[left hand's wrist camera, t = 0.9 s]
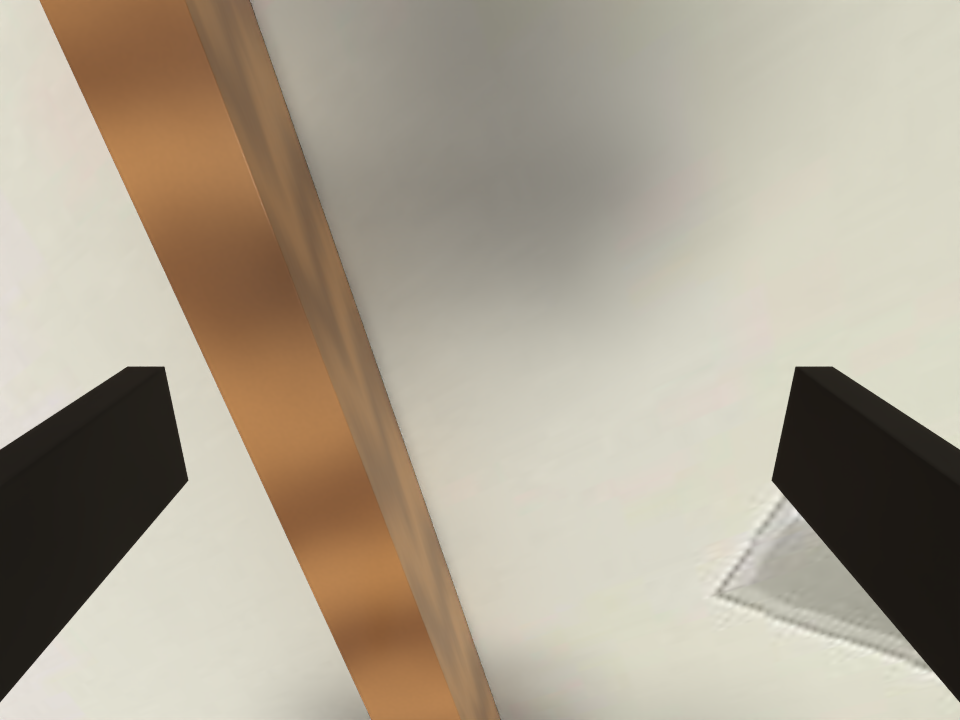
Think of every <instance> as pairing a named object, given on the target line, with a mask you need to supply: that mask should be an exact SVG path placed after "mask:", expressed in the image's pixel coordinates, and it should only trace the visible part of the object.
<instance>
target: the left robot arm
mask: <svg viewBox="0 0 960 720" xmlns="http://www.w3.org/2000/svg"><path fill="white" fill-rule="evenodd" d="M187 481H188V476H187V472H186V467H185V462H184V457H183V453H182V448H181V443H180V438H179V434H178V429H177V424H176V419H175V415H174V410H173V405H172V400H171V396H170V391H169V386H168V381H167V377H166V372H165V367H126V368H125V369H123V370H122V371H120V372H119V373H117V374H116V375H114V376H112V377H111V378H109V379H108V380H106V381H105V382H103V383H102V384H100V385H99V386H97V387H96V388H94V389H93V390H91V391H89V392H88V393H86V394H85V395H83V396H82V397H80V398H79V399H77V400H76V401H74V402H73V403H71V404H70V405H68V406H66V407H65V408H63V409H62V410H60V411H59V412H57V413H56V414H54V415H53V416H51V417H50V418H48V419H47V420H45V421H43V422H42V423H40V424H39V425H37V426H36V427H34V428H33V429H31V430H30V431H28V432H27V433H25V434H24V435H22V436H21V437H19V438H17V439H16V440H14V441H13V442H11V443H10V444H8V445H7V446H5V447H4V448H2V449H1V450H0V702H1V701H2V700H3V698H4V697H5V696H6V695H7V694H8V692H9V691H10V690H11V689H12V688H13V687H14V685H15V684H16V683H17V682H18V681H19V680H20V678H21V677H22V676H23V675H24V674H25V672H26V671H27V670H28V669H29V668H30V667H31V665H32V664H33V663H34V662H35V661H36V659H37V658H38V657H39V656H40V655H41V654H42V652H43V651H44V650H45V649H46V648H47V647H48V645H49V644H50V643H51V642H52V641H53V639H54V638H55V637H56V636H57V635H58V634H59V632H60V631H61V630H62V629H63V628H64V626H65V625H66V624H67V623H68V622H69V621H70V619H71V618H72V617H73V616H74V615H75V614H76V612H77V611H78V610H79V609H80V608H81V606H82V605H83V604H84V603H85V602H86V601H87V599H88V598H89V597H90V596H91V595H92V593H93V592H94V591H95V590H96V589H97V588H98V586H99V585H100V584H101V583H102V582H103V581H104V579H105V578H106V577H107V576H108V575H109V573H110V572H111V571H112V570H113V569H114V568H115V566H116V565H117V564H118V563H119V562H120V560H121V559H122V558H123V557H124V556H125V555H126V553H127V552H128V551H129V550H130V549H131V548H132V546H133V545H134V544H135V543H136V542H137V540H138V539H139V538H140V537H141V536H142V535H143V533H144V532H145V531H146V530H147V529H148V527H149V526H150V525H151V524H152V523H153V522H154V520H155V519H156V518H157V517H158V516H159V514H160V513H161V512H162V511H163V510H164V509H165V507H166V506H167V505H168V504H169V503H170V502H171V500H172V499H173V498H174V497H175V496H176V494H177V493H178V492H179V491H180V490H181V489H182V487H183V486H184V485H185V484H186V483H187ZM772 481H773V483H774V484H775V485H776V486H777V487H778V489H779V490H780V491H781V492H782V493H783V494H784V496H785V497H786V498H787V499H788V500H789V502H790V503H791V504H792V505H793V506H794V507H795V509H796V510H797V511H798V512H799V513H800V514H801V516H802V517H803V518H804V519H805V520H806V522H807V523H808V524H809V525H810V526H811V527H812V529H813V530H814V531H815V532H816V533H817V535H818V536H819V537H820V538H821V539H822V540H823V542H824V543H825V544H826V545H827V546H828V548H829V549H830V550H831V551H832V552H833V553H834V555H835V556H836V557H837V558H838V559H839V560H840V562H841V563H842V564H843V565H844V566H845V568H846V569H847V570H848V571H849V572H850V573H851V575H852V576H853V577H854V578H855V579H856V581H857V582H858V583H859V584H860V585H861V586H862V588H863V589H864V590H865V591H866V592H867V593H868V595H869V596H870V597H871V598H872V599H873V601H874V602H875V603H876V604H877V605H878V606H879V608H880V609H881V610H882V611H883V612H884V614H885V615H886V616H887V617H888V618H889V619H890V621H891V622H892V623H893V624H894V625H895V626H896V628H897V629H898V630H899V631H900V632H901V634H902V635H903V636H904V637H905V638H906V639H907V641H908V642H909V643H910V644H911V645H912V647H913V648H914V649H915V650H916V651H917V652H918V654H919V655H920V656H921V657H922V658H923V659H924V661H925V662H926V663H927V664H928V665H929V667H930V668H931V669H932V670H933V671H934V672H935V674H936V675H937V676H938V677H939V678H940V680H941V681H942V682H943V683H944V684H945V685H946V687H947V688H948V689H949V690H950V691H951V692H952V694H953V695H954V696H955V697H956V698H957V700H958V701H959V702H960V450H959V449H958V448H956V447H955V446H953V445H952V444H950V443H949V442H947V441H946V440H944V439H943V438H941V437H939V436H938V435H936V434H935V433H933V432H932V431H930V430H929V429H927V428H926V427H924V426H923V425H921V424H920V423H918V422H917V421H915V420H913V419H912V418H910V417H909V416H907V415H906V414H904V413H903V412H901V411H900V410H898V409H897V408H895V407H894V406H892V405H890V404H889V403H887V402H886V401H884V400H883V399H881V398H880V397H878V396H877V395H875V394H874V393H872V392H871V391H869V390H867V389H866V388H864V387H863V386H861V385H860V384H858V383H857V382H855V381H854V380H852V379H851V378H849V377H848V376H846V375H844V374H843V373H841V372H840V371H838V370H837V369H835V368H834V367H795V372H794V377H793V381H792V386H791V391H790V396H789V400H788V405H787V410H786V415H785V419H784V424H783V429H782V434H781V438H780V443H779V448H778V453H777V457H776V462H775V467H774V472H773V476H772Z"/></svg>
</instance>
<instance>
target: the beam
mask: <svg viewBox="0 0 960 720" xmlns="http://www.w3.org/2000/svg"><path fill="white" fill-rule="evenodd" d="M40 2H41V5H42V7H43V9H44V11H45V13H46V15H47V18H48V20H49V22H50V24H51V26H52V28H53V31H54V33H55V35H56V37H57V39H58V41H59V44H60V46H61V48H62V50H63V52H64V54H65V57H66V59H67V61H68V63H69V65H70V67H71V70H72V72H73V74H74V76H75V78H76V80H77V83H78V85H79V87H80V89H81V91H82V93H83V96H84V98H85V100H86V102H87V104H88V106H89V109H90V111H91V113H92V115H93V117H94V119H95V122H96V124H97V126H98V128H99V130H100V132H101V135H102V137H103V139H104V141H105V143H106V145H107V148H108V150H109V152H110V154H111V156H112V158H113V161H114V163H115V165H116V167H117V169H118V171H119V174H120V176H121V178H122V180H123V182H124V184H125V187H126V189H127V191H128V193H129V195H130V197H131V200H132V202H133V204H134V206H135V208H136V210H137V213H138V215H139V217H140V219H141V221H142V223H143V226H144V228H145V230H146V232H147V234H148V236H149V239H150V241H151V243H152V245H153V247H154V249H155V252H156V254H157V256H158V258H159V260H160V262H161V265H162V267H163V269H164V271H165V273H166V275H167V278H168V280H169V282H170V284H171V286H172V289H173V291H174V293H175V295H176V297H177V299H178V302H179V304H180V306H181V308H182V310H183V312H184V315H185V317H186V319H187V321H188V323H189V325H190V328H191V330H192V332H193V334H194V336H195V338H196V341H197V343H198V345H199V347H200V349H201V351H202V354H203V356H204V358H205V360H206V362H207V364H208V367H209V369H210V371H211V373H212V375H213V377H214V380H215V382H216V384H217V386H218V388H219V390H220V393H221V395H222V397H223V399H224V401H225V403H226V406H227V408H228V410H229V412H230V414H231V416H232V419H233V421H234V423H235V425H236V427H237V429H238V432H239V434H240V436H241V438H242V440H243V442H244V445H245V447H246V449H247V451H248V453H249V455H250V458H251V460H252V462H253V464H254V466H255V468H256V471H257V473H258V475H259V477H260V479H261V481H262V484H263V486H264V488H265V490H266V492H267V494H268V497H269V499H270V501H271V503H272V505H273V507H274V510H275V512H276V514H277V516H278V518H279V520H280V523H281V525H282V527H283V529H284V531H285V533H286V536H287V538H288V540H289V542H290V544H291V546H292V549H293V551H294V553H295V555H296V557H297V559H298V562H299V564H300V566H301V568H302V570H303V572H304V575H305V577H306V579H307V581H308V583H309V585H310V588H311V590H312V592H313V594H314V596H315V598H316V601H317V603H318V605H319V607H320V609H321V611H322V614H323V616H324V618H325V620H326V622H327V624H328V627H329V629H330V631H331V633H332V635H333V637H334V640H335V642H336V644H337V646H338V648H339V650H340V653H341V655H342V657H343V659H344V661H345V663H346V666H347V668H348V670H349V672H350V674H351V676H352V679H353V681H354V683H355V685H356V687H357V689H358V692H359V694H360V696H361V698H362V700H363V702H364V705H365V707H366V709H367V711H368V713H369V715H370V718H371V720H501V719H500V717H499V714H498V711H497V708H496V705H495V702H494V699H493V697H492V694H491V691H490V688H489V685H488V682H487V679H486V676H485V674H484V671H483V668H482V665H481V662H480V659H479V656H478V654H477V651H476V648H475V645H474V642H473V639H472V636H471V634H470V631H469V628H468V625H467V622H466V619H465V616H464V613H463V611H462V608H461V605H460V602H459V599H458V596H457V593H456V591H455V588H454V585H453V582H452V579H451V576H450V573H449V570H448V568H447V565H446V562H445V559H444V556H443V553H442V550H441V548H440V545H439V542H438V539H437V536H436V533H435V530H434V528H433V525H432V522H431V519H430V516H429V513H428V510H427V507H426V505H425V502H424V499H423V496H422V493H421V490H420V487H419V485H418V482H417V479H416V476H415V473H414V470H413V467H412V464H411V462H410V459H409V456H408V453H407V450H406V447H405V444H404V442H403V439H402V436H401V433H400V430H399V427H398V424H397V421H396V419H395V416H394V413H393V410H392V407H391V404H390V401H389V399H388V396H387V393H386V390H385V387H384V384H383V381H382V379H381V376H380V373H379V370H378V367H377V364H376V361H375V358H374V356H373V353H372V350H371V347H370V344H369V341H368V338H367V336H366V333H365V330H364V327H363V324H362V321H361V318H360V315H359V313H358V310H357V307H356V304H355V301H354V298H353V295H352V293H351V290H350V287H349V284H348V281H347V278H346V275H345V272H344V270H343V267H342V264H341V261H340V258H339V255H338V252H337V250H336V247H335V244H334V241H333V238H332V235H331V232H330V230H329V227H328V224H327V221H326V218H325V215H324V212H323V209H322V207H321V204H320V201H319V198H318V195H317V192H316V189H315V187H314V184H313V181H312V178H311V175H310V172H309V169H308V166H307V164H306V161H305V158H304V155H303V152H302V149H301V146H300V144H299V141H298V138H297V135H296V132H295V129H294V126H293V124H292V121H291V118H290V115H289V112H288V109H287V106H286V103H285V101H284V98H283V95H282V92H281V89H280V86H279V83H278V81H277V78H276V75H275V72H274V69H273V66H272V63H271V60H270V58H269V55H268V52H267V49H266V46H265V43H264V40H263V38H262V35H261V32H260V29H259V26H258V23H257V20H256V17H255V15H254V12H253V9H252V6H251V3H250V0H40Z"/></svg>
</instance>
